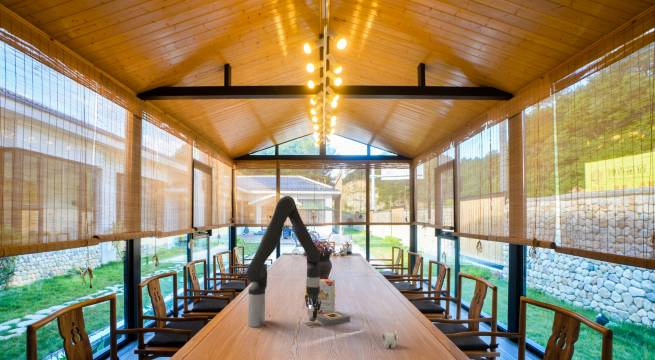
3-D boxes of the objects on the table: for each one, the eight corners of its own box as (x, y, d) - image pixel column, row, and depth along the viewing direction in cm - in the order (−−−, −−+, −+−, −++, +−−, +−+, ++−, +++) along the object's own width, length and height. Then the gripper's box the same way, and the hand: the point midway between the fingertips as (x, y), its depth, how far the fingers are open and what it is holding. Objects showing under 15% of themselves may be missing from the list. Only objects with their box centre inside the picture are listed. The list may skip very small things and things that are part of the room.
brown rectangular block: (302, 325, 204) (302, 323, 204) (313, 323, 208) (313, 321, 208) (312, 331, 196) (312, 328, 196) (323, 328, 200) (323, 325, 200)
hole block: (315, 322, 210) (315, 315, 210) (337, 318, 218) (337, 310, 218) (327, 328, 200) (327, 320, 200) (349, 323, 208) (349, 315, 208)
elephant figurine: (394, 342, 180) (394, 327, 180) (399, 350, 170) (399, 334, 171) (379, 342, 179) (379, 327, 180) (382, 350, 170) (382, 334, 170)
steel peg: (307, 319, 203) (307, 304, 204) (313, 318, 205) (313, 303, 206) (311, 321, 200) (311, 306, 200) (317, 320, 202) (317, 305, 203)
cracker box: (310, 315, 225) (310, 280, 226) (313, 312, 230) (313, 278, 232) (332, 317, 220) (332, 281, 222) (335, 314, 226) (334, 279, 228)
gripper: (300, 283, 208) (300, 314, 207) (314, 288, 196) (313, 321, 195) (312, 281, 212) (311, 312, 211) (325, 286, 200) (325, 319, 199)
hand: (312, 316), depth 203 cm, fingers closed on steel peg, 4 cm apart
